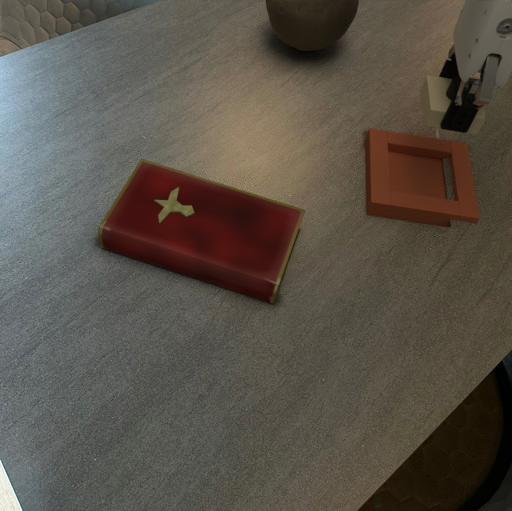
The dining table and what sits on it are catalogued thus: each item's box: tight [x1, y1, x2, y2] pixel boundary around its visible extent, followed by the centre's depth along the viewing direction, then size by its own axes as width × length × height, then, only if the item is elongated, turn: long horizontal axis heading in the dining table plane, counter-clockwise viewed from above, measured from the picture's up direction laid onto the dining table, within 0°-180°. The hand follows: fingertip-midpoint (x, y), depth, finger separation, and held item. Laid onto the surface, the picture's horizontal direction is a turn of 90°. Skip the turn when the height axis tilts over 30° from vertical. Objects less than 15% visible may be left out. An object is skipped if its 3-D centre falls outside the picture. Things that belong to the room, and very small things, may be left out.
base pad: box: [364, 127, 481, 228], centre depth 84 cm, size 14×14×2 cm
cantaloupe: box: [265, 0, 360, 52], centre depth 95 cm, size 14×14×15 cm
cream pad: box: [419, 74, 487, 135], centre depth 74 cm, size 6×6×4 cm
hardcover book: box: [97, 158, 306, 305], centre depth 73 cm, size 12×21×4 cm, turn 73°
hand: (450, 108), depth 75 cm, fingers closed on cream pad, 6 cm apart
